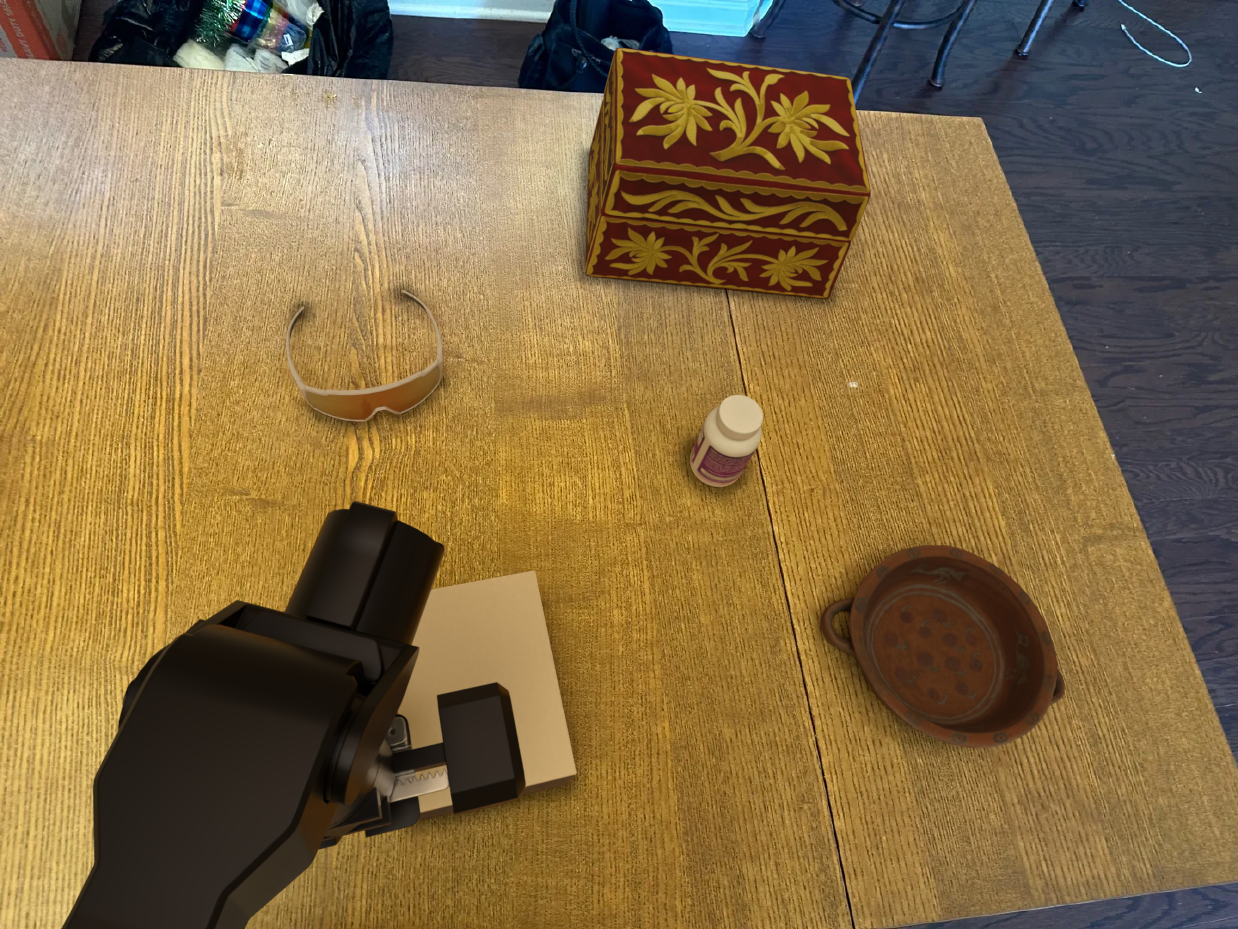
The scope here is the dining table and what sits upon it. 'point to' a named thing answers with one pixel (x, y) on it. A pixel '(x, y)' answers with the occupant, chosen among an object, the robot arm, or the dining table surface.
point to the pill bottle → (727, 441)
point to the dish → (951, 646)
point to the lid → (490, 671)
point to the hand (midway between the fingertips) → (363, 794)
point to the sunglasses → (374, 399)
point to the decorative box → (723, 175)
